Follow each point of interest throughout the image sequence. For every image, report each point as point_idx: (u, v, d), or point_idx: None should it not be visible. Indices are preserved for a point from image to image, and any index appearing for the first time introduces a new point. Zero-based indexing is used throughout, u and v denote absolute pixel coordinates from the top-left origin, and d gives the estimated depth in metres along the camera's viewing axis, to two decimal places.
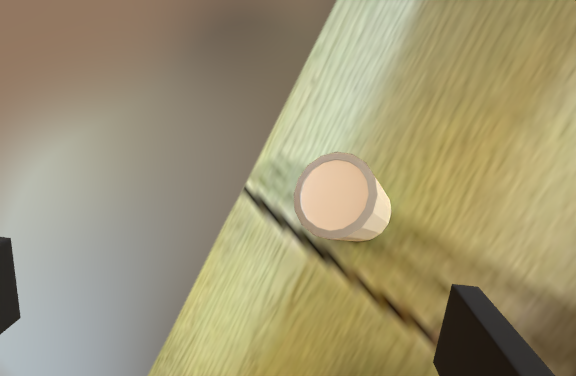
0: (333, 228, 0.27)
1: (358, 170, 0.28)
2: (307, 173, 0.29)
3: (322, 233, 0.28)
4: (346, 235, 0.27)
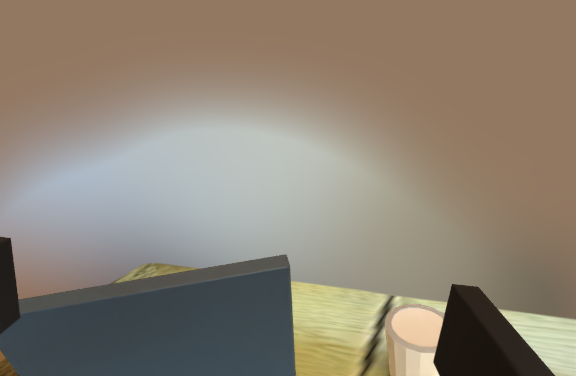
0: (395, 331, 0.36)
1: None
2: (426, 308, 0.39)
3: (388, 325, 0.37)
4: (394, 340, 0.35)
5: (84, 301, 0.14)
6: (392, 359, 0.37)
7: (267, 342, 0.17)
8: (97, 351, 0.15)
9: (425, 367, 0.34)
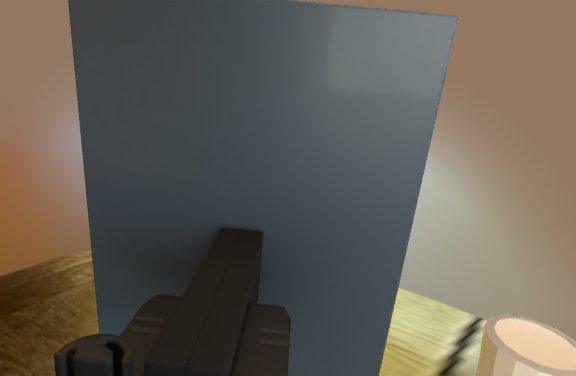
0: (500, 338, 0.27)
1: None
2: (545, 326, 0.29)
3: (490, 330, 0.28)
4: (499, 347, 0.26)
5: None
6: None
7: (387, 161, 0.12)
8: (175, 89, 0.12)
9: None
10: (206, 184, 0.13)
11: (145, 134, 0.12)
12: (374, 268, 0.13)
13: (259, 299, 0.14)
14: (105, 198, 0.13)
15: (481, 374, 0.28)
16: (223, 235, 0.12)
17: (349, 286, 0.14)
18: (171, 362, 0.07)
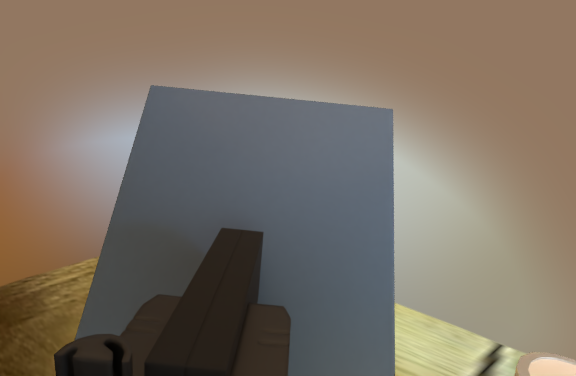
0: None
1: None
2: None
3: (523, 374, 0.23)
4: None
5: (225, 94, 0.17)
6: None
7: (364, 194, 0.16)
8: (207, 143, 0.16)
9: None
10: (218, 212, 0.15)
11: (176, 173, 0.16)
12: (368, 292, 0.14)
13: None
14: (126, 224, 0.15)
15: None
16: (223, 235, 0.12)
17: (346, 314, 0.14)
18: (171, 362, 0.07)
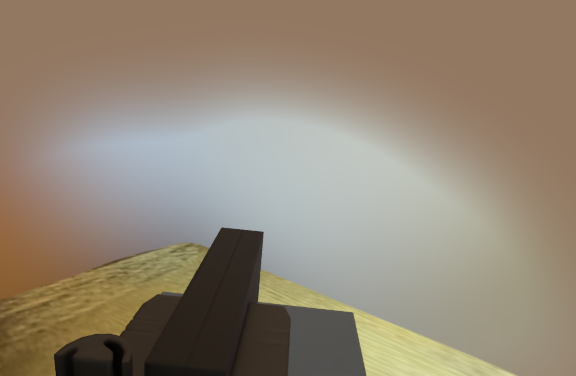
0: None
1: None
2: None
3: None
4: None
5: None
6: None
7: (338, 364, 0.18)
8: None
9: None
10: None
11: None
12: None
13: None
14: None
15: None
16: (223, 235, 0.12)
17: None
18: (171, 362, 0.07)
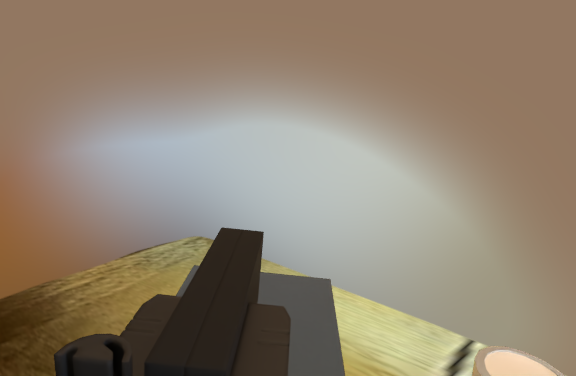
0: (490, 373, 0.27)
1: None
2: (534, 358, 0.29)
3: (480, 364, 0.28)
4: None
5: None
6: None
7: (317, 308, 0.27)
8: None
9: None
10: None
11: None
12: (324, 347, 0.23)
13: None
14: None
15: None
16: (223, 235, 0.12)
17: (312, 356, 0.22)
18: (171, 362, 0.07)
